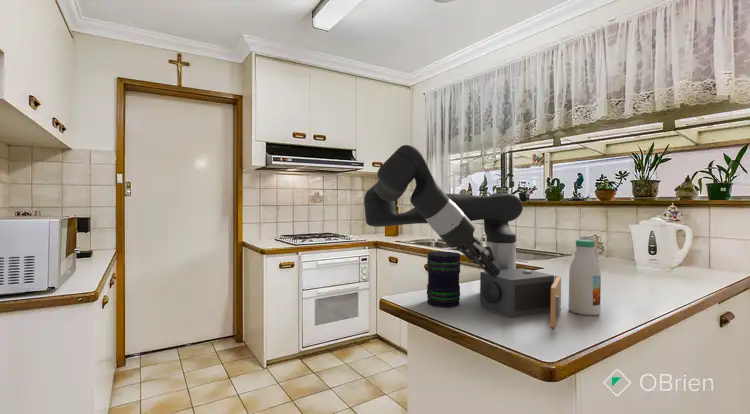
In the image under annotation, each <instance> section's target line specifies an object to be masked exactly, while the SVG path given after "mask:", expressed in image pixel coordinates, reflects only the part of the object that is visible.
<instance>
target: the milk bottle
mask: <svg viewBox="0 0 750 414" xmlns="http://www.w3.org/2000/svg"><path fill="white" fill-rule="evenodd" d="M594 247H595V248H596V242H595V240H594V241H592V240H580V239H577V240H575V249H577V251H576V250H575V251H576V255H574V258H573V259H572V261H571V263H570V265H569V273H568V274H569V276H568V309H569V311H570V312H571V313H575V314H578V315H581V316H582V315H583V316H598V315H600V313H601V297H602V296H601V295H602V294H601V292H602V291H601V290H602V288H601V287H602V285H601V282H602V281H601V280H602V279H601V278H602V275H601V273H602V272H601V268H600V265H599V262H597V260H596V258H595V255H594V249H595V248H594Z"/></svg>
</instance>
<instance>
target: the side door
mask: <svg viewBox="0 0 750 414" xmlns="http://www.w3.org/2000/svg"><path fill="white" fill-rule="evenodd" d="M561 302H562V276H560V275H555V276H554V283H553V285H552V286H551V312H550V319H549V320H550V322H549V324H550V328H554V329H555V328H556V326H557V322H558V320H559V318H560V314H561V312H562V308H561V307H562V306H561V305H562V303H561Z"/></svg>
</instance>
